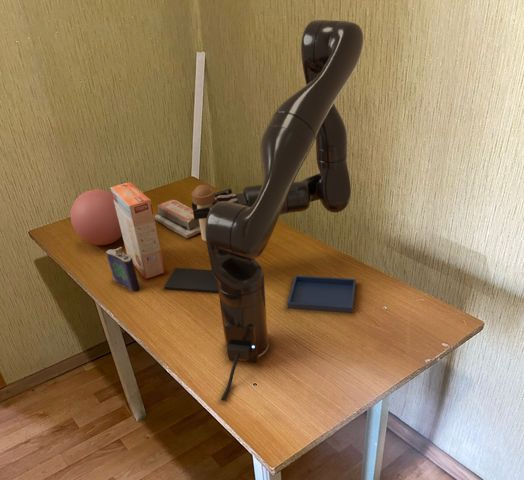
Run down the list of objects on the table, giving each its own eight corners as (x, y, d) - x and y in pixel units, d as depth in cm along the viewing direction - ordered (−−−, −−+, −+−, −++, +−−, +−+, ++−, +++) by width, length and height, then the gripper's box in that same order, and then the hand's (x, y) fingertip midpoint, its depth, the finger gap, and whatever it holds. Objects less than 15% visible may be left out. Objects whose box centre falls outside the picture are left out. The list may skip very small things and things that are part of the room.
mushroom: (224, 237, 128) (217, 185, 119) (206, 245, 126) (199, 192, 117) (211, 230, 131) (204, 178, 123) (194, 237, 129) (185, 185, 120)
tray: (352, 314, 123) (352, 307, 122) (287, 309, 126) (287, 303, 124) (355, 285, 132) (356, 279, 130) (295, 281, 134) (295, 275, 133)
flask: (112, 281, 139) (101, 245, 132) (120, 276, 141) (111, 240, 134) (134, 293, 134) (125, 256, 127) (143, 287, 136) (134, 251, 129)
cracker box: (166, 273, 141) (151, 199, 127) (145, 280, 138) (127, 206, 125) (147, 251, 150) (131, 180, 136) (127, 257, 148) (108, 186, 134)
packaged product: (150, 205, 161) (177, 194, 166) (153, 220, 164) (179, 209, 169) (184, 224, 150) (212, 212, 155) (187, 240, 153) (214, 227, 158)
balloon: (155, 234, 157) (145, 184, 147) (96, 261, 147) (81, 210, 137) (127, 218, 166) (115, 170, 156) (69, 243, 156) (53, 193, 146)
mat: (241, 294, 131) (240, 292, 131) (164, 289, 135) (164, 286, 134) (248, 274, 138) (248, 272, 137) (176, 270, 141) (175, 267, 141)
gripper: (259, 173, 128) (188, 183, 126) (270, 198, 117) (192, 209, 115) (261, 202, 133) (192, 212, 131) (271, 229, 122) (197, 239, 120)
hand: (193, 210), depth 123 cm, fingers closed on mushroom, 3 cm apart
